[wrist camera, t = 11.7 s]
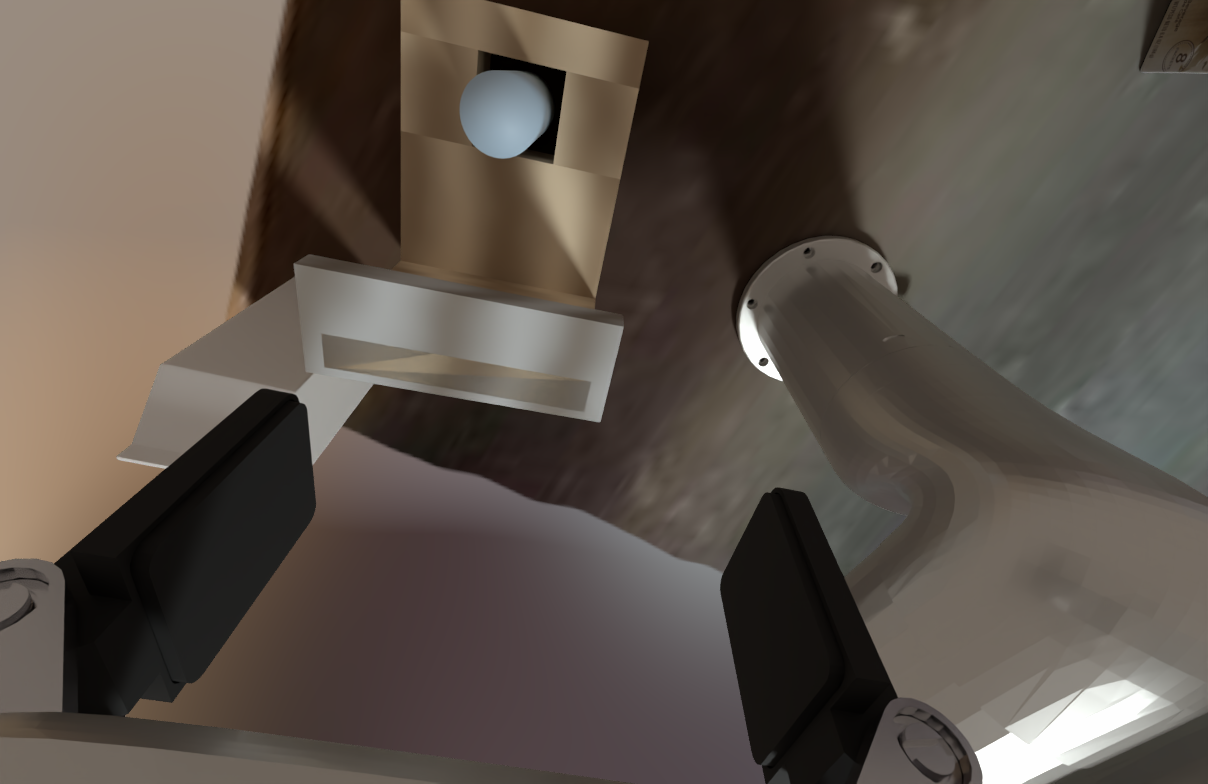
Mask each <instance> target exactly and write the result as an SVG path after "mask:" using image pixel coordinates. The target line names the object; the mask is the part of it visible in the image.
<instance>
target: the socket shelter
mask: <svg viewBox="0 0 1208 784" xmlns="http://www.w3.org/2000/svg"><path fill="white" fill-rule="evenodd" d="M648 43H649V41H645V40H641V39H638V38H634V37H630V36H626V35H622V34H618V33H614V32H610V31H606V30H602V29H598V28H594V27H590V26H586V25H582V24H578V23H574V22H570V21H566V20H562V19H558V18H554V17H550V16H546V15H542V14H538V13H534V12H530V11H526V10H522V9H518V8H514V7H510V6H506V5H502V4H498V3H494V2H490V1H486V0H401V261H400V262H399V263H398V264H397V265H396V266H394V267H393V268H392V269H391V270H388V269H383V268H378V267H373V266H368V265H362V264H357V263H352V262H347V261H342V260H337V259H331V258H326V257H321V256H316V255H311V254H309V255H307V256H305V257H304V258H302V259H300V260H299V261H297V262H295V263H294V272H295V281H296V290H297V299H298V308H299V317H300V326H301V335H302V344H303V353H304V362H305V371H306V372H309V373H315V374H321V375H327V376H332V377H338V378H344V379H350V380H356V381H362V382H367V383H373V384H379V385H385V386H391V387H397V388H403V389H408V390H414V391H420V392H426V393H432V394H438V395H443V396H449V397H455V398H461V399H467V400H473V401H479V402H484V403H490V404H496V405H502V406H508V407H514V408H519V409H525V410H531V411H537V412H543V413H549V414H555V415H560V416H566V417H572V418H578V419H584V420H590V421H595V422H600V421H601V417H602V413H603V409H604V405H605V401H606V397H607V393H608V389H609V385H610V381H611V377H612V372H613V368H614V364H615V360H616V356H617V352H618V348H619V344H620V340H621V336H622V332H623V328H624V323H623V315H620V314H615V313H610V312H605V311H600V310H595V297H596V293H597V288H598V283H599V278H600V273H601V269H602V264H603V259H604V254H605V249H606V245H607V240H608V235H609V230H610V225H611V221H612V216H613V211H614V206H615V202H616V197H617V192H618V187H619V182H620V178H621V173H622V168H623V163H624V158H625V154H626V149H627V144H628V139H629V134H630V130H631V125H632V120H633V115H634V111H635V106H636V101H637V96H638V91H639V87H640V82H641V77H642V72H643V67H644V63H645V58H646V53H647V48H648ZM491 53H493V54H497V55H501V56H505V57H510V58H514V59H518V60H522V61H526V62H530V63H534V64H539V65H543V66H547V67H551V68H555V69H559V70H564V71H567V72H566V79H565V86H564V93H563V100H562V107H561V114H560V121H559V128H558V135H557V142H556V149H555V155H552V154H547V153H543V152H538V151H534V150H529V149H526V150H525V151H523V152H522V153H521V154H519V155H517V156H515V157H511V158H505V159H500V158H494V157H491V156H489V155H486V154H484V153H483V152H481V151H480V150H479V149H477V148H476V147H475V146H474V145H473V144H472V143H471V141H470V140H469V139H468V137H467V135H466V133H465V131H464V129H463V126H462V123H461V119H460V101H461V96H462V94H463V91H464V89H465V87H466V86H467V84H468V83H469V82H470V81H471V80H472V79H473V78H474V77H475V76H477V75H478V74H480V73H482V72H486V71H490V61H491Z"/></svg>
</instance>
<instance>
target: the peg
mask: <svg viewBox="0 0 1208 784" xmlns="http://www.w3.org/2000/svg"><path fill="white" fill-rule="evenodd" d="M554 114H555V100H554V96H553V93H552V90H551V89H550V87H549V85H548V84H547V83H546V81H545V80H544V79H543V78H541V77H540V76H539V75H537V74H535V73H533V72H529V71H509V70H491V71H486V72H482V73H480V74H478V75H477V76H475V77H474V78H473V79H472V80H471V81H470V82H469V83H468V84H467V86H466V87H465V89H464V91H463V94H462V96H461V101H460V119H461V123H462V126H463V129H464V131H465V133H466V135H467V137H468V139H469V140H470V141H471V143H472V144H473V145H474V146H475V147H476V148H477V149H479V150H480V151H481V152H483V153H484V154H486V155H489V156H491V157H494V158H500V159H505V158H511V157H515V156H517V155H519V154H521V153H522V152H523V151H525V150H526V149H527V148H528V147H529V146H530V145H531V144H532V143H533V142H534V141H536V140H537V139H538V138H539V137H540V136H541V135H542V134H543V133H544V132H545V131H546V130H547V129H548V128H549V127H550V125H551V123H552V121H553V118H554Z"/></svg>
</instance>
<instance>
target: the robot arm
mask: <svg viewBox="0 0 1208 784" xmlns="http://www.w3.org/2000/svg"><path fill="white" fill-rule="evenodd" d="M807 248H808V251H807V252H805V253H803V252H804V251H805V249H807ZM873 264H874V265H873ZM872 265H873V266H872ZM871 266H872V267H871ZM751 299H753V300H752V302H750V303H748V301H749V300H751ZM736 330H737V334H738V339H739V342H740V344H741V347H742V349H743V351H744V353H745V354H746V356H747V358H748V359H749V361H750V362H751V363H752V364H753V365H754V366H755V367H756V368H757V369H758V370H759V371H761V372H763V373H764V374H766V375H767V376H769V377H771V378H774V379H777V380H779V381H783V382H784V384H785V385H786V387H787V389H788V391H789V392H790V394H791V396H792V398H793V399H794V401H795V403H796V405H797V406H798V408H799V410H800V412H801V413H802V415H803V417H804V419H805V420H806V422H807V424H808V426H809V427H810V429H811V431H812V433H813V434H814V436H815V438H816V439H817V441H818V443H819V445H820V446H821V448H822V450H823V452H824V453H825V455H826V457H827V459H828V461H829V462H830V464H831V466H832V467H833V469H834V471H835V472H836V474H837V475H838V476H839V478H840V479H841V480H842V481H843V482H844V484H845V485H846V486H847V487H848V488H849V489H850V490H852V491H853V492H854V493H855V494H857V495H858V496H860V497H861V498H863V499H864V500H866V501H868V502H870V503H872V504H874V505H876V506H878V507H881V508H883V509H886V510H888V511H892V512H895V513H898V514H902V515H906V516H907V517H906V519H905V520H904V521H903V523H902V524H901V525H900V526H899V527H898V528H897V529H895V530H894V531H893V532H892V533H891V534H890V535H889V536H888V537H887V538H886V539H885V540H884V541H883V542H882V543H881V544H880V545H879V547H878V548H877V549H876V550H875V551H873V552H872V553H871V554H870V555H869V556H868V557H867V558H865V559H864V560H863V561H862V562H861V563H860V564H859V565H858V566H856V567H855V568H854V569H853V570H852V571H851V572H850V573H848V574H847V575H846V576H845V577H844V576H843V574H842V572H841V570H840V568H839V566H838V564H837V561H836V559H835V557H834V555H833V552H832V550H831V548H830V546H829V544H828V541H827V539H826V537H825V535H824V532H823V530H822V528H821V526H820V523H819V521H818V519H817V517H816V515H815V512H814V510H813V508H812V506H811V503H810V501H809V499H808V497H807V495H806V494H805V493H803V492H799V491H794V490H789V489H784V488H775V489H774V490H773V491H772V492H771V493H765V494H764V495H763V496H762V498H761V500H760V502H759V504H758V506H757V508H756V510H755V512H754V514H753V516H752V518H751V520H750V522H749V524H748V526H747V528H746V530H745V532H744V534H743V536H742V538H741V540H740V541H739V543H738V545H737V547H736V549H735V551H734V553H733V555H732V557H731V559H730V561H729V563H728V565H727V567H726V569H725V571H724V573H723V575H722V579H721V584H720V591H721V597H722V602H723V607H724V612H725V618H726V622H727V628H728V633H729V638H730V643H731V648H732V654H733V659H734V664H735V669H736V674H737V679H738V684H739V689H740V695H741V700H742V705H743V710H744V715H745V720H746V725H747V730H748V736H749V741H750V746H751V751H752V755H753V758H754V760H755V762H756V763H757V764H759V765H762V768H763V773H764V778H765V783H766V784H1208V497H1206V496H1205V495H1203V494H1201V493H1200V492H1198V491H1197V490H1195V489H1193V488H1192V487H1190V486H1188V485H1187V484H1185V483H1183V482H1182V481H1180V480H1178V479H1177V478H1175V477H1173V476H1171V475H1169V474H1167V473H1165V472H1164V471H1162V470H1160V469H1158V468H1156V467H1154V466H1152V465H1150V464H1148V463H1147V462H1145V461H1143V460H1141V459H1139V458H1137V457H1135V456H1133V455H1131V454H1129V453H1128V452H1126V451H1124V450H1122V449H1120V448H1118V447H1116V446H1114V445H1112V444H1110V443H1109V442H1107V441H1105V440H1103V439H1101V438H1099V437H1097V436H1095V435H1093V434H1091V433H1090V432H1088V431H1086V430H1084V429H1082V428H1081V427H1079V426H1077V425H1076V424H1074V423H1072V422H1071V421H1069V420H1067V419H1066V418H1064V417H1062V416H1060V415H1059V414H1057V413H1055V412H1054V411H1052V410H1050V409H1049V408H1047V407H1046V406H1044V405H1043V404H1041V403H1040V402H1038V401H1037V400H1035V399H1034V398H1032V397H1031V396H1029V395H1028V394H1026V393H1025V392H1023V391H1022V390H1020V389H1019V388H1018V387H1016V386H1015V385H1013V384H1012V383H1011V382H1009V381H1008V380H1006V379H1005V378H1004V377H1002V376H1001V375H1000V374H998V373H997V372H996V371H994V370H993V369H992V368H991V367H989V366H988V365H987V364H985V363H984V362H983V361H981V360H980V359H979V358H977V357H976V356H974V355H973V354H972V353H970V352H969V351H968V350H966V349H965V348H964V347H963V346H961V345H960V344H959V343H957V342H956V341H955V340H953V339H952V338H951V337H950V336H948V335H947V334H946V333H944V332H943V331H942V330H940V329H939V328H938V327H937V326H935V325H934V324H933V323H931V322H930V321H929V320H927V319H926V318H925V317H924V316H922V315H921V314H920V313H918V312H917V311H916V310H914V309H913V308H912V307H911V306H909V305H908V304H907V303H905V302H904V301H903V300H901V299H900V298H899V297H898V287H897V283H896V279H895V276H894V273H893V271H892V269H891V268H890V266H889V264H888V262H887V261H886V260H885V259H884V258H883V257H882V256H881V255H880V254H879V253H878V252H877V251H875V250H874V249H872V248H871V247H869V246H868V245H866V244H864V243H862V242H860V241H857V240H855V239H852V238H847V237H842V236H820V237H814V238H808V239H805V240H802V241H800V242H797V243H794V244H792V245H790V246H788V247H786V248H784V249H783V250H781V251H779V252H777V253H776V254H775V255H773V256H772V257H771V258H770V259H768V260H767V261H766V262H765V263H764V264H763V265H762V266H761V267H760V268H759V269H758V270H757V271H756V272H755V274H754V275H753V276H752V278H751V279H750V281H749V282H748V284H747V285H746V287H745V289H744V291H743V294H742V296H741V298H740V301H739V305H738V310H737V314H736ZM761 358H763V359H761ZM314 489H315V488H314V477H313V467H312V455H311V445H310V434H309V423H308V412H307V407H306V405H305V404H303V403H299V399H298V397H297V395H295V394H292V393H287V392H281V391H276V390H271V389H266V388H264V389H260V390H258V391H257V392H255V393H254V394H253V395H252V396H251V397H249V398H248V399H247V400H246V401H245V402H244V403H242V404H241V405H240V406H239V407H238V408H237V409H235V410H234V411H233V412H232V413H231V414H230V415H228V416H227V417H226V418H225V419H224V420H222V421H221V422H220V423H219V424H218V425H217V426H215V427H214V428H213V429H212V430H211V431H210V432H208V433H207V434H206V435H205V436H204V437H203V438H201V439H200V440H199V441H198V442H197V443H195V444H194V445H193V446H192V447H191V448H190V449H188V450H187V451H186V452H185V453H184V454H182V455H181V456H180V457H179V458H178V459H176V460H175V461H174V462H173V463H172V464H171V465H169V466H168V467H167V468H166V469H165V470H164V471H162V472H161V473H160V474H159V475H158V476H156V477H155V478H154V479H153V480H152V481H151V482H149V483H148V484H147V485H146V486H145V487H144V488H142V489H141V490H140V491H139V492H138V493H137V494H135V495H134V496H133V497H132V498H131V499H130V500H128V501H127V502H126V503H125V504H124V505H122V506H121V507H120V508H119V509H118V510H117V511H115V512H114V513H113V514H112V515H111V516H109V517H108V518H107V519H106V520H105V521H104V522H102V523H101V524H100V525H99V526H98V527H97V528H95V529H94V530H93V531H92V532H91V533H90V534H88V535H87V536H86V537H85V538H84V539H82V540H81V541H80V542H79V543H78V544H77V545H76V546H74V547H73V548H72V549H71V550H70V551H68V552H67V553H66V554H65V555H64V556H63V557H61V558H60V559H59V560H58V561H57V562H55V563H54V564H53V563H52V562H48V561H43V560H39V559H12V560H7V561H1V562H0V784H632V783H626V782H619V781H611V780H605V779H598V778H590V777H584V776H576V775H569V774H562V773H555V772H548V771H540V770H533V769H526V768H519V767H510V766H504V765H497V764H489V763H482V762H475V761H468V760H460V759H453V758H444V757H438V756H431V755H423V754H416V753H409V752H401V751H394V750H386V749H379V748H371V747H364V746H356V745H348V744H341V743H333V742H326V741H318V740H310V739H303V738H295V737H287V736H280V735H272V734H264V733H256V732H249V731H242V730H234V729H227V728H218V727H208V726H200V725H192V724H183V723H174V722H164V721H156V720H147V719H139V718H130V717H125V715H126V714H128V713H129V712H130V711H131V710H132V708H133V707H134V706H135V704H136V703H137V702H138V701H139V699H140V698H142V699H149V700H156V701H163V702H171V703H172V702H173V701H174V699H175V698H176V697H177V695H178V694H179V692H180V691H181V690H182V688H183V687H184V685H185V684H186V683H193V682H195V681H196V680H198V679H199V678H200V677H201V676H202V674H203V673H204V672H205V671H206V669H207V668H208V666H209V665H210V663H211V662H212V661H213V659H214V658H215V656H216V655H217V653H218V652H219V651H220V649H221V648H222V646H223V645H224V644H225V642H226V641H227V639H228V638H229V636H230V635H231V634H232V632H233V631H234V629H235V628H236V627H237V625H238V624H239V622H240V620H241V619H242V618H243V617H244V615H245V614H246V612H247V611H248V609H249V608H250V607H251V605H252V604H253V602H254V601H255V599H256V598H257V597H258V595H259V594H260V592H261V591H262V590H263V588H264V587H265V585H266V584H267V583H268V581H269V580H270V578H271V577H272V575H273V574H274V573H275V571H276V570H277V568H278V567H279V566H280V564H281V563H282V561H283V560H284V558H285V557H286V556H287V554H288V553H289V551H290V550H291V549H292V547H293V546H294V544H295V543H296V541H297V540H298V538H299V537H300V536H301V534H302V533H303V531H304V530H305V529H306V527H307V526H308V524H309V523H310V521H311V520H312V517H313V515H314V512H315V508H316V499H315V490H314Z"/></svg>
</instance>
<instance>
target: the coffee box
mask: <svg viewBox="0 0 1208 784" xmlns="http://www.w3.org/2000/svg"><path fill="white" fill-rule="evenodd" d="M1140 71H1141V72H1143V73H1201V74H1208V0H1172V1H1171V3H1170V5H1169V8H1168V10H1167V12H1166V14H1165V16H1164V18H1163V21H1162V23H1161V25H1160V27H1159V29H1158V31H1157V34H1156V36H1155V38H1154V40H1153V42H1152V45H1151V47H1150V49H1149V51H1148V53H1147V56H1146V58H1145V60H1144V62H1143V65H1142V67H1141V70H1140Z"/></svg>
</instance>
